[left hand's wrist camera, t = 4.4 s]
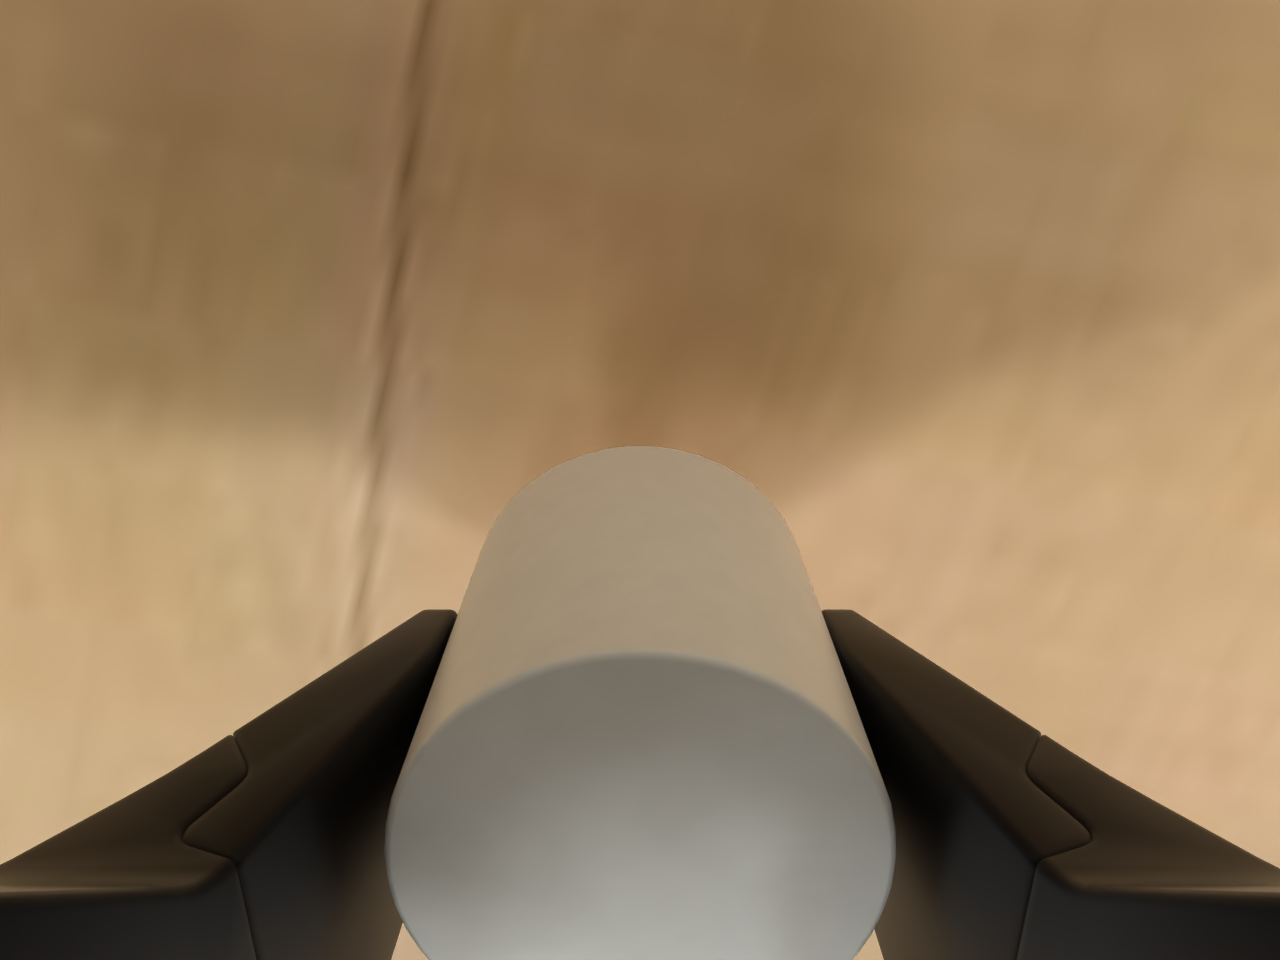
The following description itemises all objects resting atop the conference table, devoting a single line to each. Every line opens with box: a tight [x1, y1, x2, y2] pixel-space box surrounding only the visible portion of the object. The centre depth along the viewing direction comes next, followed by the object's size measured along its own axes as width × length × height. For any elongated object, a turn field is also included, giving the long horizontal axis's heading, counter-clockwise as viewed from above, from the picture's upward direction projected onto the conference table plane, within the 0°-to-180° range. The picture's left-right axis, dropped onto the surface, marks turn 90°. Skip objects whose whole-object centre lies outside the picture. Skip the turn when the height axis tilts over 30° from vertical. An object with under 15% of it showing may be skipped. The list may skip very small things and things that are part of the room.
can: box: [384, 446, 896, 960], centre depth 10 cm, size 4×4×5 cm
